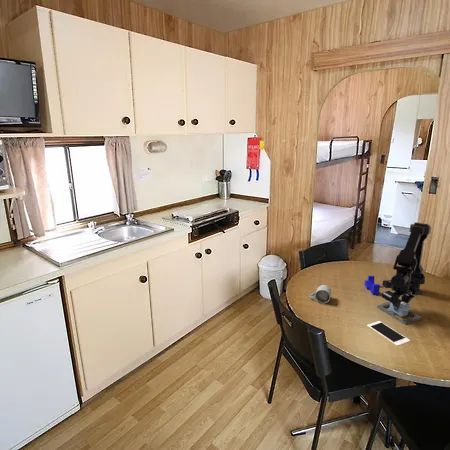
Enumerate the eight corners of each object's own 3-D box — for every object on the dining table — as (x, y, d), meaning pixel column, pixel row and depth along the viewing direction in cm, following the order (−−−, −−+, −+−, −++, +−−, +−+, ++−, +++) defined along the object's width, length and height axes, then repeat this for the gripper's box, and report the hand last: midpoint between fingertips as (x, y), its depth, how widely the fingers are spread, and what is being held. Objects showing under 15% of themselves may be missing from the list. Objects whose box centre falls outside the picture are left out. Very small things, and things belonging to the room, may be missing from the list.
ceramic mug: (331, 297, 170) (331, 284, 168) (329, 304, 163) (330, 291, 161) (310, 294, 174) (311, 281, 172) (308, 301, 167) (309, 288, 165)
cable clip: (364, 284, 183) (365, 275, 181) (372, 285, 182) (373, 275, 180) (369, 295, 171) (370, 285, 170) (378, 295, 171) (379, 285, 169)
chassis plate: (391, 303, 163) (392, 300, 162) (420, 319, 149) (421, 316, 148) (377, 307, 159) (377, 305, 159) (405, 324, 145) (405, 322, 145)
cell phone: (397, 346, 131) (397, 345, 131) (366, 326, 146) (366, 324, 145) (410, 341, 134) (410, 340, 134) (379, 321, 148) (379, 320, 148)
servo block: (392, 306, 159) (394, 295, 157) (410, 316, 150) (412, 305, 148) (386, 308, 157) (388, 297, 156) (404, 318, 149) (406, 306, 147)
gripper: (402, 269, 159) (398, 297, 164) (374, 276, 152) (370, 305, 157) (423, 278, 149) (418, 307, 154) (394, 286, 143) (389, 317, 147)
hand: (398, 309), depth 153 cm, fingers open, 4 cm apart
